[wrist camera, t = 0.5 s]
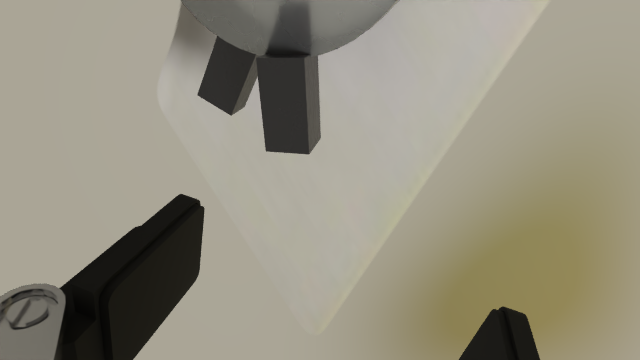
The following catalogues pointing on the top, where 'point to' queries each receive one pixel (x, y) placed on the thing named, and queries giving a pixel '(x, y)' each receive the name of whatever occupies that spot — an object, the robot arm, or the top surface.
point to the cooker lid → (289, 54)
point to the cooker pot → (229, 77)
